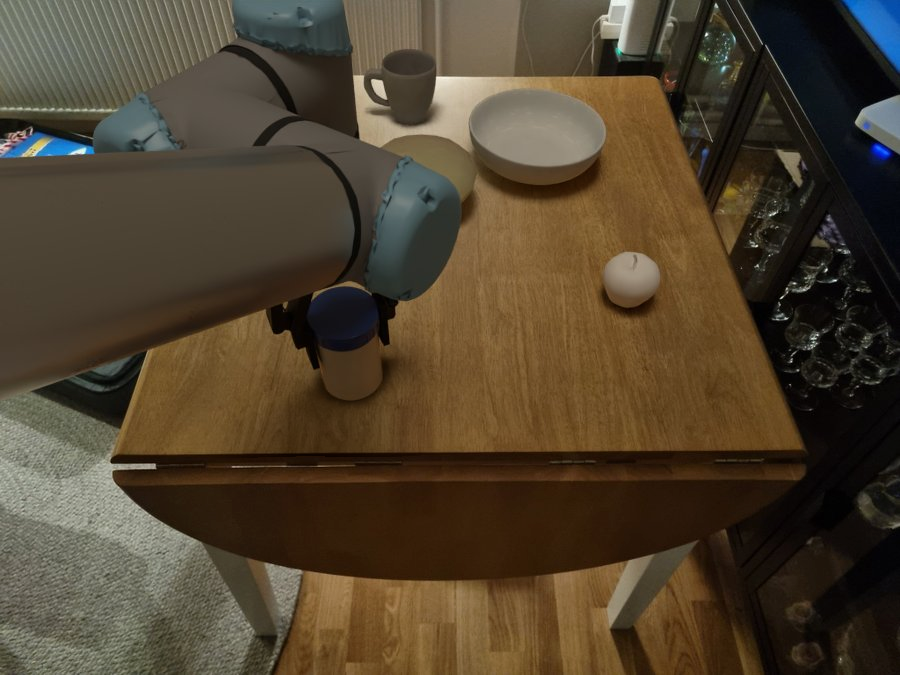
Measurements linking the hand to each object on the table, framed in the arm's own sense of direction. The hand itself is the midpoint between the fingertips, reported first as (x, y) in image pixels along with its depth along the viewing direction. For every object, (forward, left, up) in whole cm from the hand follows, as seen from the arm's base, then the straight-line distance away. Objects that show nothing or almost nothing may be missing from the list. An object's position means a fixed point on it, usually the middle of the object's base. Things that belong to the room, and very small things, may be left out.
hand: (348, 348), depth 72 cm
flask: (+26, +17, -5) cm, 31 cm away
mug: (+40, +38, -5) cm, 55 cm away
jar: (0, 0, -5) cm, 5 cm away
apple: (+34, -14, -5) cm, 37 cm away
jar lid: (0, 0, +6) cm, 6 cm away
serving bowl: (+47, +14, -5) cm, 49 cm away
